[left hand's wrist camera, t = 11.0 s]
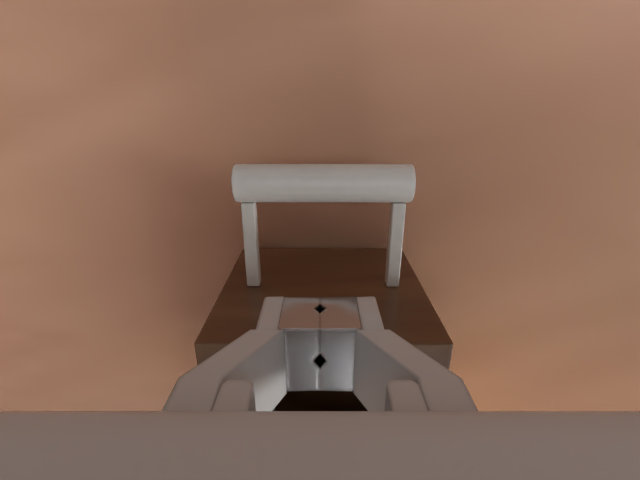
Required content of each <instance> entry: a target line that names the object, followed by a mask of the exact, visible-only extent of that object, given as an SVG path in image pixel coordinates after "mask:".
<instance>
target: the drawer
mask: <svg viewBox="0 0 640 480" xmlns="http://www.w3.org/2000/svg"><path fill="white" fill-rule="evenodd" d="M231 186H232V193H233V197H234V200H235V201H236V202H242V203H241V214H242V227H243V239H244V249H243V251H242V253H241V255H240V257H239V258H238V260H237V262H236V264H235V266H234V268H233V270H232V272H231V274H230V276H229V278H228V280H227V282H226V284H225V285H224V287H223V289H222V291H221V293H220V295H219V297H218V299H217V301H216V303H215V305H214V307H213V309H212V311H211V312H210V314H209V316H208V318H207V320H206V322H205V324H204V326H203V328H202V330H201V332H200V334H199V336H198V338H197V339H196V341H195V350H196V357H197V364H198V365H199V364H200V363H202V362H203V361H205V360H206V359H208V358H209V357H211V356H212V355H214V354H215V353H217V352H218V351H220V350H221V349H222V348H224V347H225V346H227V345H228V344H230V343H231V342H233V341H234V340H236V339H237V338H239V337H240V336H242V335H243V334H245V333H246V332H248V331H249V330H256V326H257V323H258V319H259V316H260V312H261V309H262V305H263V302H264V299H265V297H278V296H283V297H320V298H326V297H368V296H374V297H375V299H376V302H377V306H378V309H379V312H380V316H381V319H382V323H383V326H384V330H391V331H392V332H394V333H395V334H397V335H398V336H400V337H401V338H403V339H404V340H406V341H407V342H409V343H410V344H412V345H413V346H414V347H416V348H417V349H419V350H420V351H422V352H423V353H425V354H426V355H428V356H429V357H431V358H432V359H434V360H435V361H437V362H438V363H440V364H441V365H442V366H444V367H445V368H447V369H449V367H450V361H451V355H452V348H453V342H452V341H451V339H450V337H449V335H448V333H447V331H446V330H445V328H444V326H443V324H442V322H441V321H440V319H439V317H438V315H437V313H436V311H435V310H434V308H433V306H432V304H431V302H430V300H429V299H428V297H427V295H426V293H425V291H424V289H423V288H422V286H421V284H420V282H419V280H418V278H417V277H416V275H415V273H414V271H413V269H412V267H411V266H410V264H409V262H408V260H407V258H406V256H405V255H404V253H403V251H402V245H403V234H404V223H405V212H406V203H405V202H411V201H412V200H413V198H414V194H415V188H416V173H415V168H414V166H413V165H412V164H234V166H233V169H232V175H231ZM256 202H390V215H389V229H388V242H387V249H322V248H259V238H258V222H257V206H256ZM286 392H287V393H286V395H285V396H284V397H283V398H282V400H281V401H280V402H279V403H278V405H277V406H276V407H275V408H274V409H273V411H368V410H367V409H366V408H365V407H364V405H363V404H362V403H361V402H360V400H359V399H358V398H357V397H356V395H355V394H354V393H353V392H354V391H286Z"/></svg>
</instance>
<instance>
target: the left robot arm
mask: <svg viewBox="0 0 640 480" xmlns="http://www.w3.org/2000/svg"><path fill="white" fill-rule="evenodd" d="M286 391H354V392H353V393H354V394H355V395H356V397H357V398H358V399H359V400H360V402H361V403H362V404H363V405H364V407H365V408H366V409H367V410H368V411H273V409H274V408H275V407H276V406H277V405H278V403H279V402H280V401H281V400H282V398H283V397H284V396H285V395H286V393H287V392H286ZM0 480H640V411H478V409H477V407H476V405H475V403H474V402H473V400H472V398H471V396H470V394H469V392H468V390H467V388H466V386H465V384H464V382H463V380H462V378H460V377H459V376H457V375H456V374H454V373H453V372H451V371H450V370H448V369H447V368H445V367H444V366H442V365H441V364H440V363H438V362H437V361H435V360H434V359H432V358H431V357H429V356H428V355H426V354H425V353H423V352H422V351H420V350H419V349H417V348H416V347H414V346H413V345H412V344H410V343H409V342H407V341H406V340H404V339H403V338H401V337H400V336H398V335H397V334H395V333H394V332H392V331H391V330H384V326H383V323H382V319H381V316H380V312H379V309H378V306H377V302H376V299H375V297H374V296H368V297H326V298H320V297H283V296H278V297H265V299H264V302H263V305H262V309H261V312H260V316H259V319H258V323H257V326H256V330H249V331H248V332H246V333H245V334H243V335H242V336H240V337H239V338H237V339H236V340H234V341H233V342H231V343H230V344H228V345H227V346H225V347H224V348H222V349H221V350H220V351H218V352H217V353H215V354H214V355H212V356H211V357H209V358H208V359H206V360H205V361H203V362H202V363H200V364H199V365H197V366H196V367H194V368H193V369H191V370H190V371H188V372H187V373H185V374H184V375H183V376H181V377H180V378H178V380H177V382H176V384H175V386H174V388H173V390H172V392H171V394H170V396H169V398H168V400H167V402H166V404H165V406H164V407H163V409H162V411H0Z"/></svg>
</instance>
